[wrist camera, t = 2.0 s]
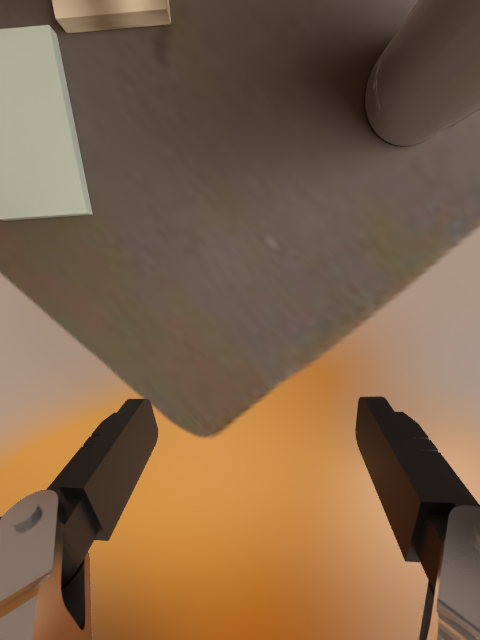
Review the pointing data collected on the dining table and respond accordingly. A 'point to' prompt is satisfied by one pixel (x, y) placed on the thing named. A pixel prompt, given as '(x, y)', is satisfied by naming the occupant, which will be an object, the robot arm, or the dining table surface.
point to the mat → (37, 130)
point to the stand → (110, 14)
